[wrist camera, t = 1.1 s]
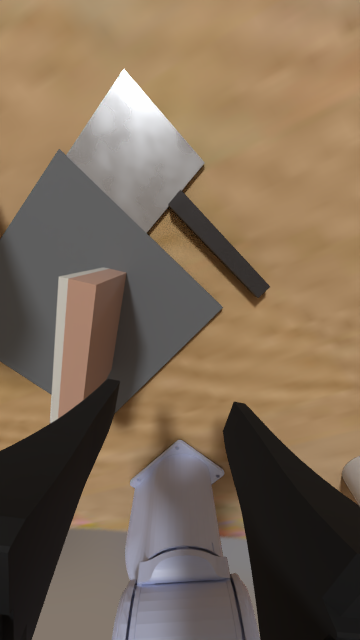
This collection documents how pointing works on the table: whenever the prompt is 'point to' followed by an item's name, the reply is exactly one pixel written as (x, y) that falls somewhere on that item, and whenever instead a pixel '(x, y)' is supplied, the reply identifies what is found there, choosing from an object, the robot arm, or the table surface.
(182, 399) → the table surface
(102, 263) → the mat
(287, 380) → the table surface
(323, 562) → the robot arm
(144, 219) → the turner
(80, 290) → the tile
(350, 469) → the dixie cup
